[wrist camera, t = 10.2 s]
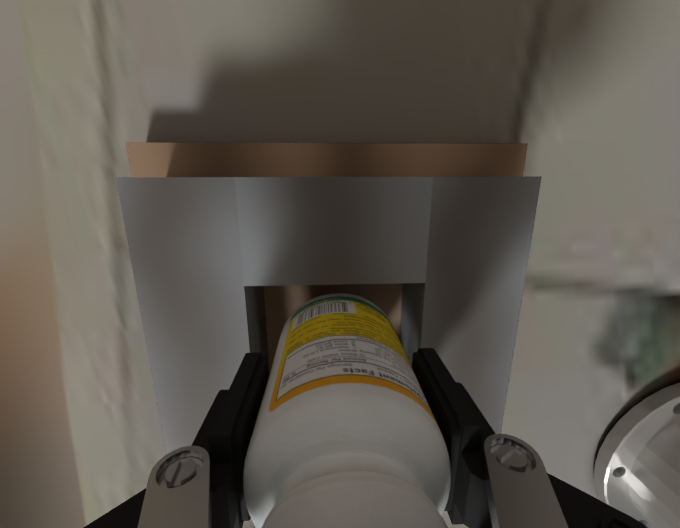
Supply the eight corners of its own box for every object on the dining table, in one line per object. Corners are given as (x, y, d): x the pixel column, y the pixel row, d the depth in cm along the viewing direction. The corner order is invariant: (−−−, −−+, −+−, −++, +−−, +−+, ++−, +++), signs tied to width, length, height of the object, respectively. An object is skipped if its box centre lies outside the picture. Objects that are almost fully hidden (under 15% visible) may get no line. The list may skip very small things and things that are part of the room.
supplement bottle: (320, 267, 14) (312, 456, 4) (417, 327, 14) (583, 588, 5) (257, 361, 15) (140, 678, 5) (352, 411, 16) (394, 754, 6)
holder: (508, 146, 16) (589, 132, 11) (471, 437, 21) (516, 517, 16) (144, 146, 15) (60, 129, 10) (191, 449, 20) (149, 536, 15)
